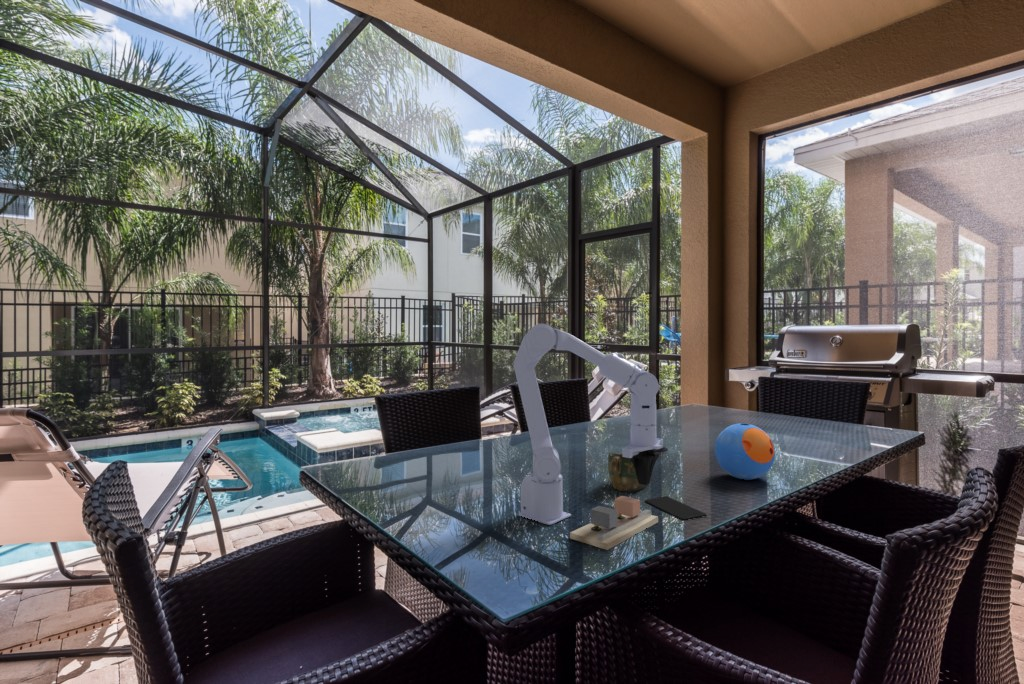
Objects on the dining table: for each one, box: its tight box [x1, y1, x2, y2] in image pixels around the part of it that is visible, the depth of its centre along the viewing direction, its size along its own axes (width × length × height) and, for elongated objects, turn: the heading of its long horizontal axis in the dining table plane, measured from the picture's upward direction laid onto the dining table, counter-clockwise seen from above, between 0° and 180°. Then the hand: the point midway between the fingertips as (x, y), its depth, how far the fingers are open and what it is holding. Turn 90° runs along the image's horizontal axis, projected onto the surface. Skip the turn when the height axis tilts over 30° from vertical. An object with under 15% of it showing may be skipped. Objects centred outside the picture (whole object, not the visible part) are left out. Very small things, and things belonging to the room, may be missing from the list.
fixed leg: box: [590, 505, 618, 529], centre depth 111 cm, size 5×3×4 cm, turn 46°
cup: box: [607, 452, 648, 493], centre depth 147 cm, size 13×20×10 cm, turn 118°
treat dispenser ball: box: [714, 422, 776, 481], centre depth 151 cm, size 16×15×15 cm
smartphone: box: [644, 495, 708, 521], centre depth 127 cm, size 7×1×15 cm
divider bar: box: [597, 509, 652, 541], centre depth 113 cm, size 1×19×1 cm, turn 137°
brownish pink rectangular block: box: [613, 495, 641, 517], centre depth 117 cm, size 5×3×4 cm, turn 46°
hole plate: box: [569, 514, 659, 551], centre depth 115 cm, size 9×20×1 cm, turn 136°
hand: (643, 483), depth 122 cm, fingers closed
